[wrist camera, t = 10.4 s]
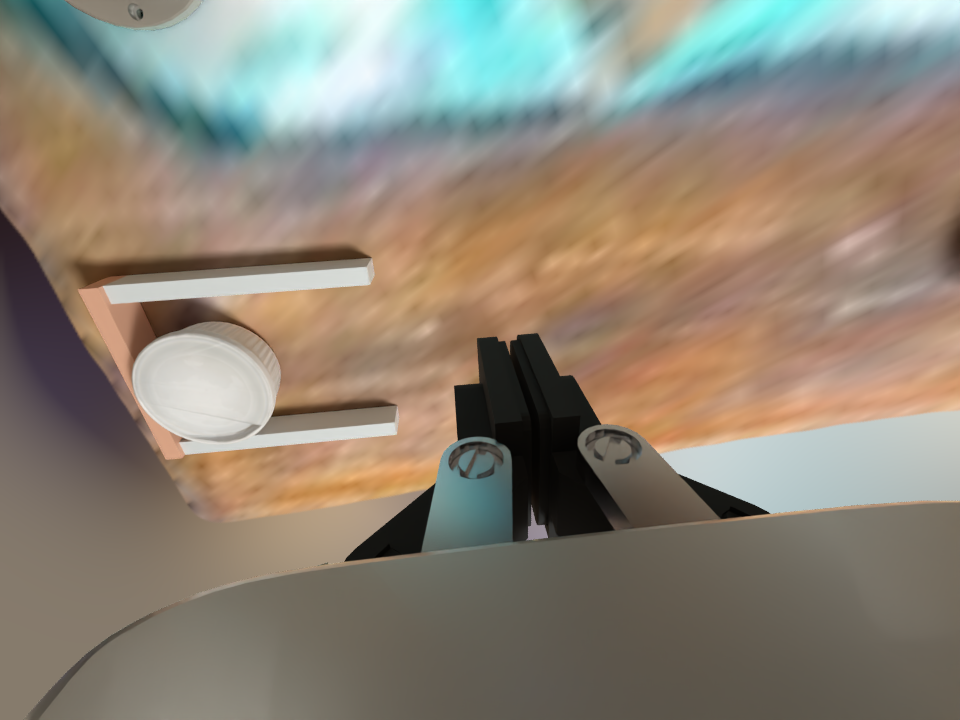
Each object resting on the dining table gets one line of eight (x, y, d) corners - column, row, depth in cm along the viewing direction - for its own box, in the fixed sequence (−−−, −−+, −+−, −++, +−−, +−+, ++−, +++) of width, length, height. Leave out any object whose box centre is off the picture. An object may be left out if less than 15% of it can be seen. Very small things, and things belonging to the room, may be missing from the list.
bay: (109, 276, 35) (77, 289, 32) (371, 257, 36) (365, 268, 33) (185, 436, 43) (166, 459, 40) (399, 417, 44) (396, 437, 41)
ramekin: (206, 424, 43) (178, 458, 38) (139, 328, 38) (97, 354, 33) (310, 397, 42) (295, 429, 38) (257, 296, 37) (232, 318, 33)
